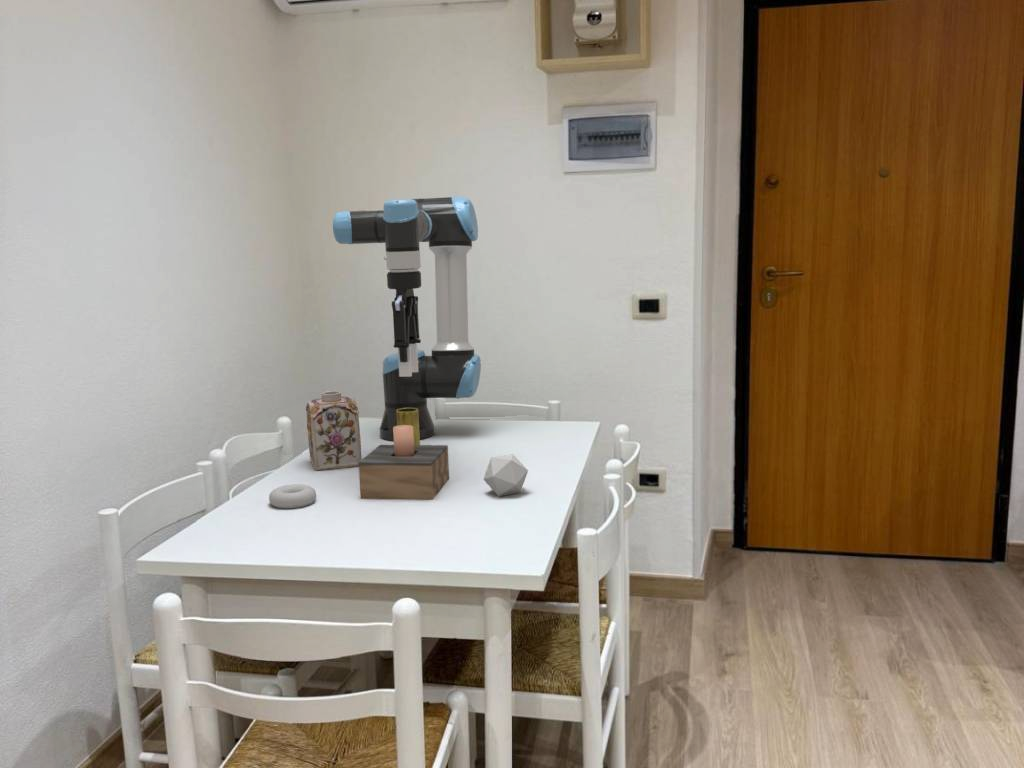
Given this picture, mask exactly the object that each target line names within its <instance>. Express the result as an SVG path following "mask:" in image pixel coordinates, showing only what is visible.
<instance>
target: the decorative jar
mask: <svg viewBox="0 0 1024 768" xmlns="http://www.w3.org/2000/svg"><path fill="white" fill-rule="evenodd" d="M305 411H306V427H307V428H306V429H307V438H308V439H307V440H308V451H309V460H310V463H311V464H312V466H313V469H314V470H315V471H317V472H318V471H328V470H335V469H345V468H346V469H347V468H356V467H359V463H358V462H360V461H361V460H362V444H361V428H360V416H359V415H360V414H359V413H360V412H359V407H358V406H357V401H356V400H355V398H353V397H348V396H342V391H340V390H339V391H338V390H328V391H327V390H326V391H324V392H321V397H320V398H314V399H312V400H309V401H308V402H307V403H306V406H305Z"/></svg>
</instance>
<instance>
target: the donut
mask: <svg viewBox="0 0 1024 768" xmlns="http://www.w3.org/2000/svg"><path fill="white" fill-rule="evenodd" d="M316 499H317V492H316V490H315V488H313V487H312V486H310V485H307V484H300V483H299V484H286V485H282V486H278V487H276V488H274V489H273V490H272V491H270V492H269V495H268V501H269V503H270V505H272V506H273V507H275V508H278V509H298V508H302V507H303V508H304V507H307V506H309V505H311V504H313V503H314V502H315V501H316Z"/></svg>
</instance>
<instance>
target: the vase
mask: <svg viewBox="0 0 1024 768" xmlns="http://www.w3.org/2000/svg"><path fill="white" fill-rule="evenodd" d="M396 415H397V426H399V425H411V426H413V435H414V445H421V439H420V433H419V412H418V409H417V408H400V409H397V410H396Z"/></svg>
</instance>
